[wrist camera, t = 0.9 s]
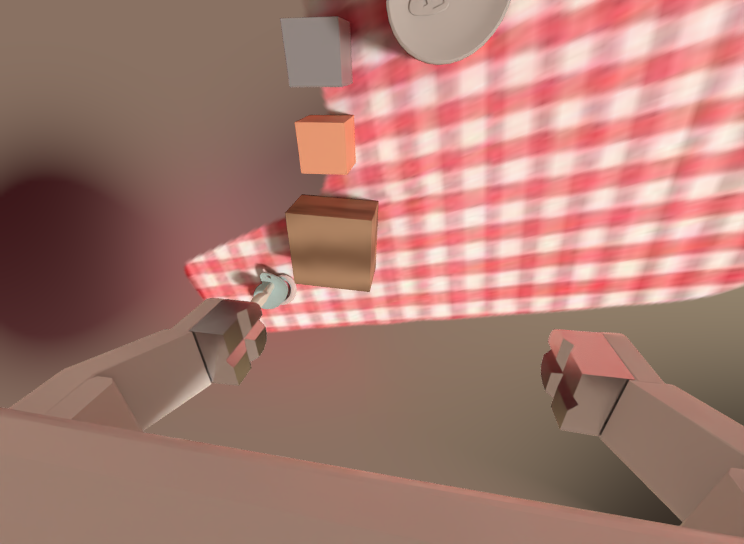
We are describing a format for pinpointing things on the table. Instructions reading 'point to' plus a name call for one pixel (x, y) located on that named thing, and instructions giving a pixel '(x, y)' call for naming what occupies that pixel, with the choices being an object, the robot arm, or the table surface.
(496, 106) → the table surface
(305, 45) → the gray metal cube
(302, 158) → the terracotta cube
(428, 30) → the canned food
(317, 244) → the walnut block
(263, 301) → the pacifier
